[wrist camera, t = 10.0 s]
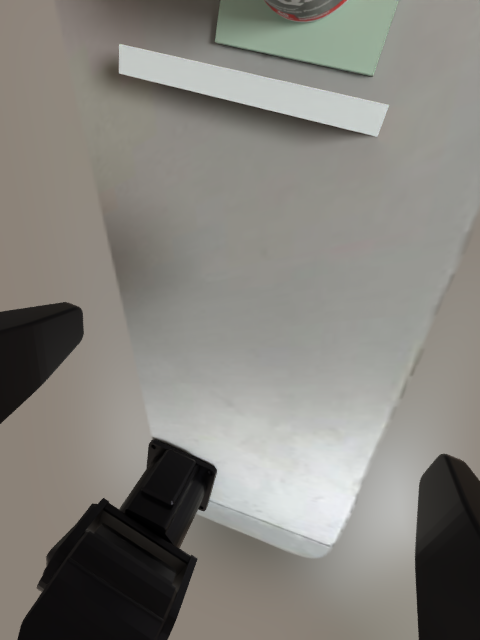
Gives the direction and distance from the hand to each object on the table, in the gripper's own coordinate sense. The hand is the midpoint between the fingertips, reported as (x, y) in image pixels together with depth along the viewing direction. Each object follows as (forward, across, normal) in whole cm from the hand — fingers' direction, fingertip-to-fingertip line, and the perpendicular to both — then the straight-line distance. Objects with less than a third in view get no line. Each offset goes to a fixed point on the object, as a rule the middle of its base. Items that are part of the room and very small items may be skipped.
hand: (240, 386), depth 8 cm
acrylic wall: (+12, +4, -6) cm, 14 cm away
